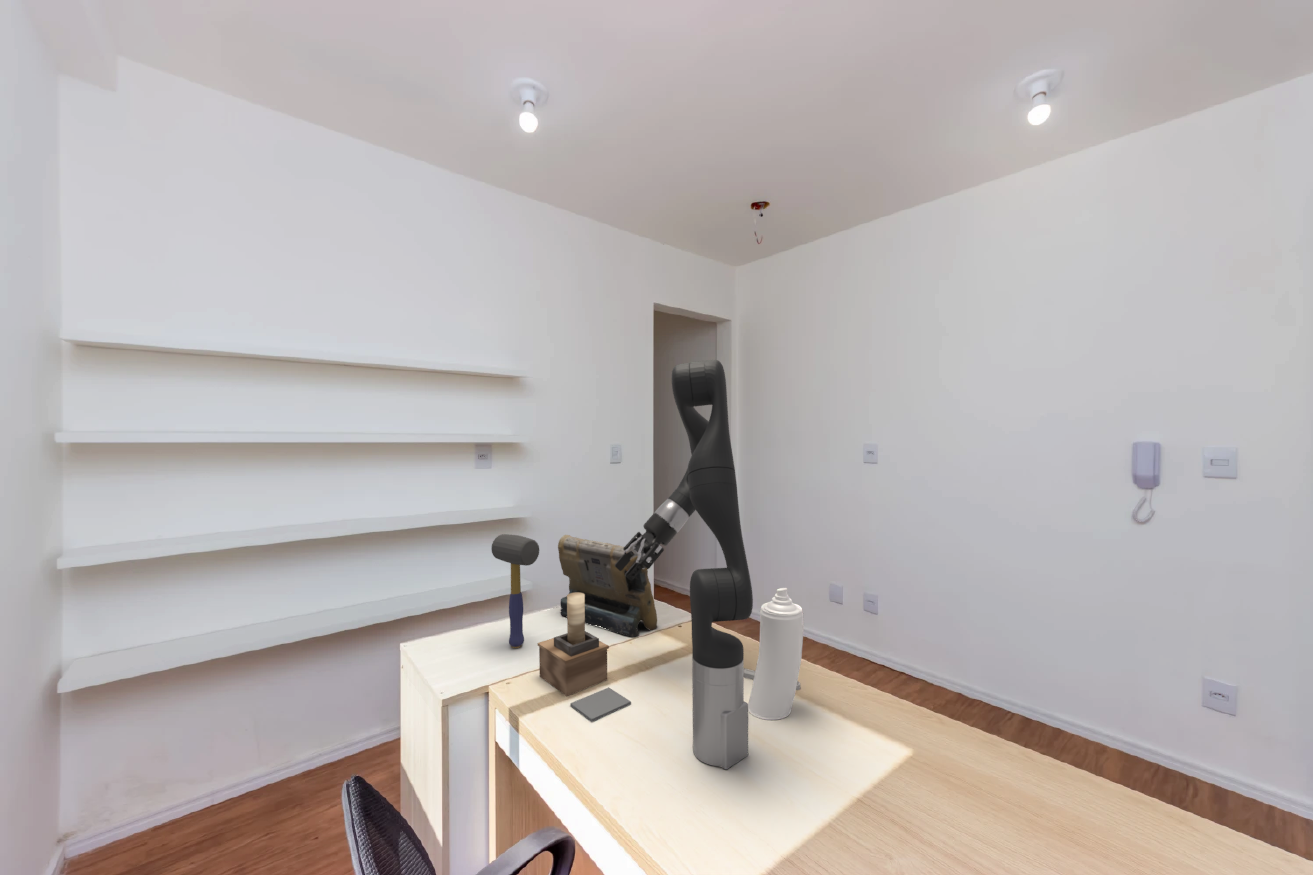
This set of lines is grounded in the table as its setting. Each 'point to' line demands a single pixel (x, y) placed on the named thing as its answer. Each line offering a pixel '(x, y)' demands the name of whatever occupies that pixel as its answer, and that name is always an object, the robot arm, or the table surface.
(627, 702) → the rubber mat
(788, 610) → the spray can
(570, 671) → the wooden box
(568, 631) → the wooden cylinder
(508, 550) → the rubber mallet
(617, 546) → the tablet
